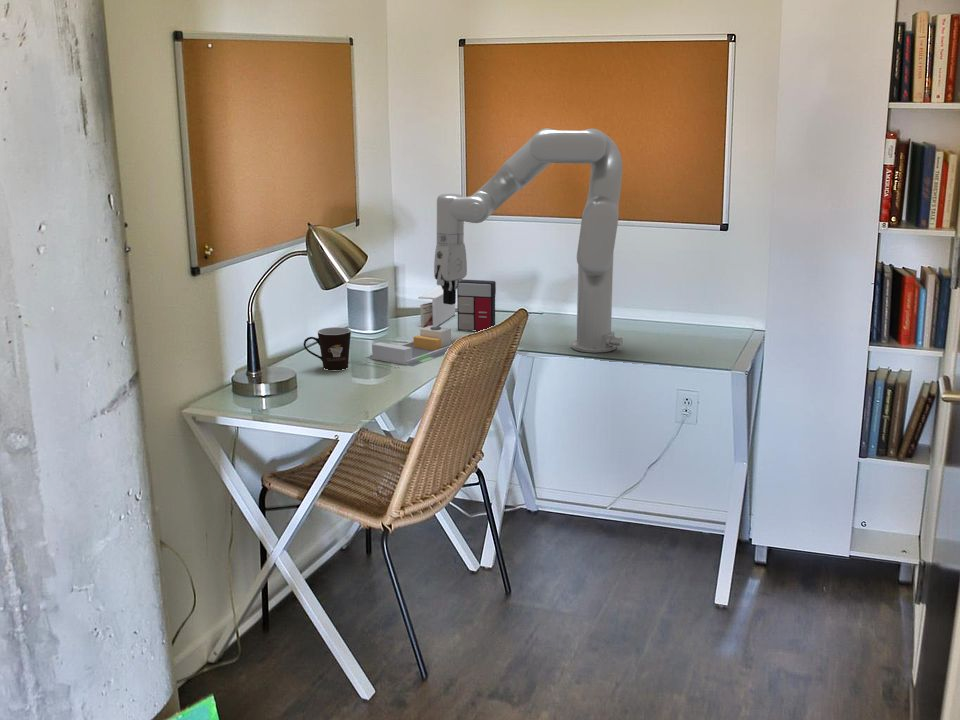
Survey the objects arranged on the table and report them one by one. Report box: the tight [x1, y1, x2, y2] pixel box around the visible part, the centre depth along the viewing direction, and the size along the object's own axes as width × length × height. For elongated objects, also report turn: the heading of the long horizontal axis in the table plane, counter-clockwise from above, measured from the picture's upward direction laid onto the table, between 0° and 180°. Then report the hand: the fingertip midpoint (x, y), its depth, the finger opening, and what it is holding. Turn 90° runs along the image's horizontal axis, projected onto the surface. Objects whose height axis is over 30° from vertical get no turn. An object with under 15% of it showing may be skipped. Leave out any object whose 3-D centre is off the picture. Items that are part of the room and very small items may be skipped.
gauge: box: [419, 326, 452, 348], centre depth 299 cm, size 5×7×5 cm
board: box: [365, 340, 450, 369], centre depth 292 cm, size 25×16×5 cm, turn 146°
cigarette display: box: [417, 285, 456, 328], centre depth 334 cm, size 20×6×9 cm, turn 163°
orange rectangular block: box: [412, 335, 441, 351], centre depth 296 cm, size 2×8×3 cm, turn 56°
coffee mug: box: [303, 326, 352, 371], centre depth 281 cm, size 12×9×10 cm
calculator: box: [456, 278, 497, 332], centre depth 320 cm, size 11×4×15 cm, turn 73°
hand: (449, 303), depth 303 cm, fingers closed
